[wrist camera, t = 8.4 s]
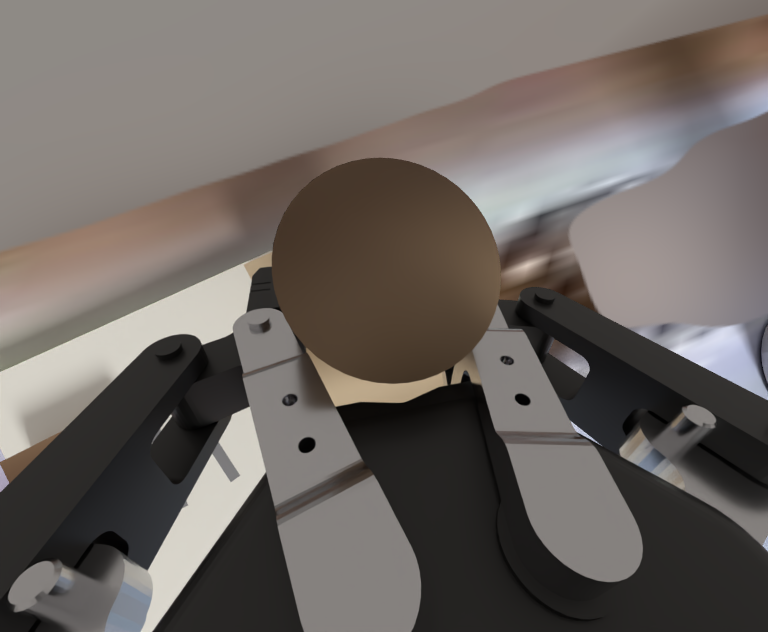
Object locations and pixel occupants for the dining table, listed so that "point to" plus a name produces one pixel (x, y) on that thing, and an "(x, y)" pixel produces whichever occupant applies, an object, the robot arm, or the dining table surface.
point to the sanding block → (384, 278)
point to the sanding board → (225, 466)
